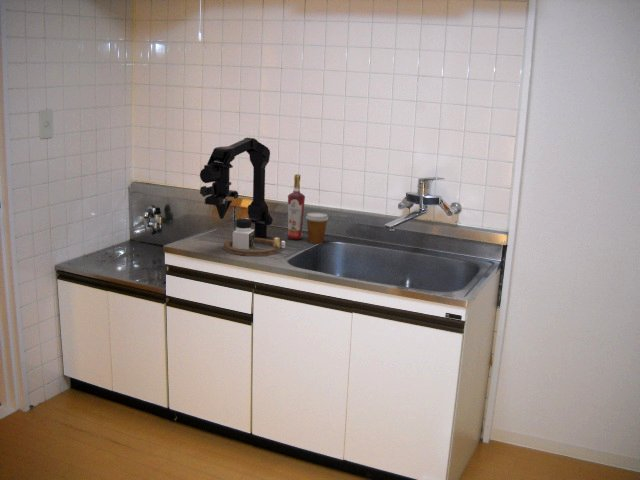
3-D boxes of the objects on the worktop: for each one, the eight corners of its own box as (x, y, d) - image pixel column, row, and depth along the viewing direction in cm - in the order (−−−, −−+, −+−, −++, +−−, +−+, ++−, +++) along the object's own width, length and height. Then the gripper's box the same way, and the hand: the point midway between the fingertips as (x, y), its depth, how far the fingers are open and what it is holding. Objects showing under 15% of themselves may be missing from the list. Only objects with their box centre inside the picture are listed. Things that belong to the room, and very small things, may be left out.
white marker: (282, 248, 299) (282, 242, 299) (280, 246, 301) (281, 240, 301) (285, 248, 300) (285, 242, 299) (283, 246, 302) (283, 240, 301)
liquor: (284, 239, 313) (287, 175, 306) (288, 235, 320) (290, 173, 313) (301, 241, 312) (304, 176, 305) (304, 237, 319) (307, 174, 312)
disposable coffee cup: (328, 244, 309) (330, 217, 306) (306, 244, 307) (307, 216, 304) (324, 239, 318) (326, 212, 315) (303, 239, 316) (304, 212, 313)
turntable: (237, 238, 310) (237, 226, 309) (288, 245, 304) (289, 232, 303) (214, 251, 289) (214, 237, 288) (268, 258, 283) (269, 244, 281)
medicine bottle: (249, 250, 294) (249, 221, 291) (232, 248, 295) (232, 219, 292) (254, 246, 300) (254, 217, 297) (237, 244, 302) (238, 216, 299)
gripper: (214, 174, 296) (213, 212, 300) (192, 181, 279) (192, 221, 283) (239, 177, 293) (238, 215, 297) (218, 184, 276) (218, 224, 279)
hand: (221, 218), depth 289 cm, fingers closed
